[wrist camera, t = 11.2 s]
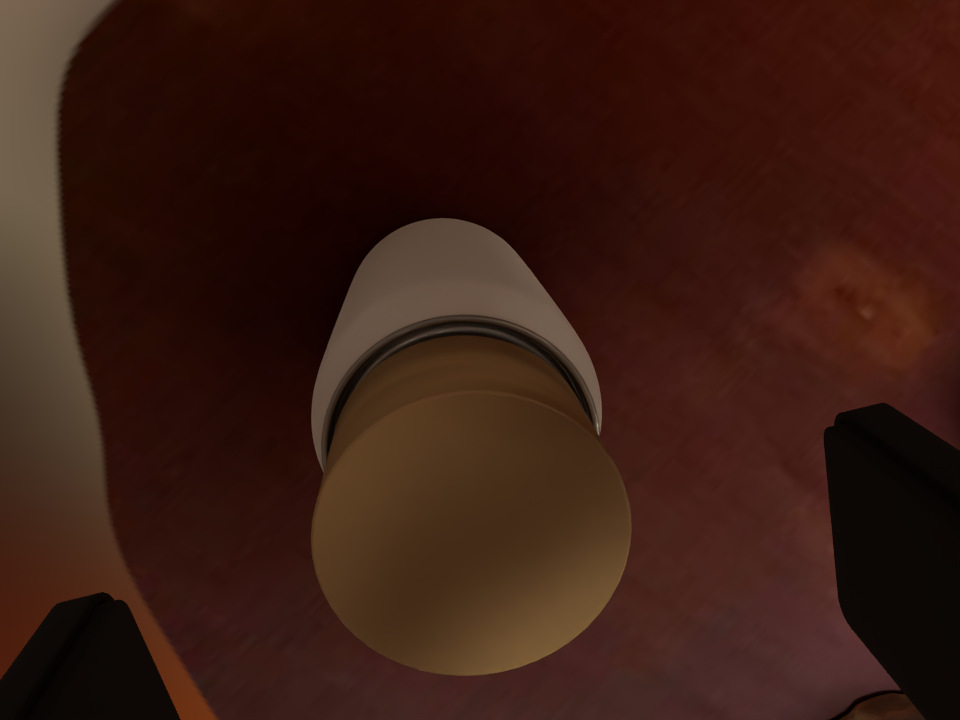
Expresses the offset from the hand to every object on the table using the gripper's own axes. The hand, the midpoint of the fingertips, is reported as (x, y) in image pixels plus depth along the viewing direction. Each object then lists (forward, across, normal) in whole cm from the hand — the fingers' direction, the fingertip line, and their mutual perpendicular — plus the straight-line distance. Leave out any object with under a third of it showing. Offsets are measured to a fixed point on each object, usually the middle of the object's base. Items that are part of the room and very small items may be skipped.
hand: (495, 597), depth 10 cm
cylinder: (+6, 0, +1) cm, 6 cm away
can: (+18, 0, +1) cm, 18 cm away
